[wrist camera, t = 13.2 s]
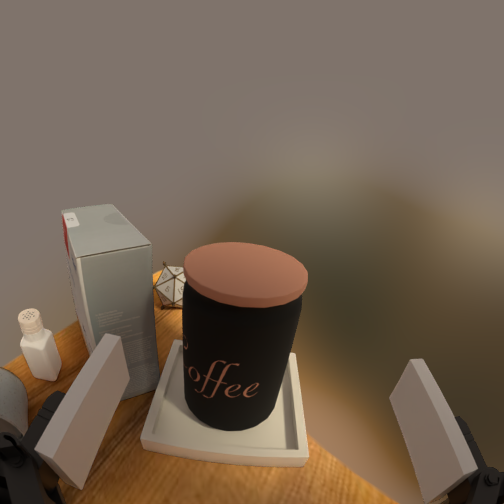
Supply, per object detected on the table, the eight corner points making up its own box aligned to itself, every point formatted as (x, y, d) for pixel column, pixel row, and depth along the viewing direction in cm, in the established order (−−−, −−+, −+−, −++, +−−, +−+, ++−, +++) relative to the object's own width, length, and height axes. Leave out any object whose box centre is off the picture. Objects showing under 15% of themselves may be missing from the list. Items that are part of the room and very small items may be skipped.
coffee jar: (166, 397, 31) (157, 259, 24) (225, 358, 39) (238, 234, 32) (235, 452, 25) (260, 316, 18) (290, 398, 33) (328, 268, 26)
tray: (291, 365, 40) (295, 353, 40) (302, 466, 25) (309, 457, 24) (174, 352, 40) (174, 339, 39) (143, 449, 24) (139, 438, 23)
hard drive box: (80, 334, 39) (60, 209, 32) (122, 323, 44) (114, 202, 36) (110, 406, 28) (74, 253, 21) (164, 388, 33) (156, 240, 26)
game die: (166, 321, 52) (140, 273, 52) (204, 299, 56) (180, 252, 55) (173, 327, 44) (142, 271, 43) (218, 301, 48) (189, 246, 47)
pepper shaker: (64, 363, 33) (46, 307, 29) (56, 383, 29) (35, 327, 25) (41, 360, 32) (22, 304, 28) (32, 379, 28) (9, 323, 24)
